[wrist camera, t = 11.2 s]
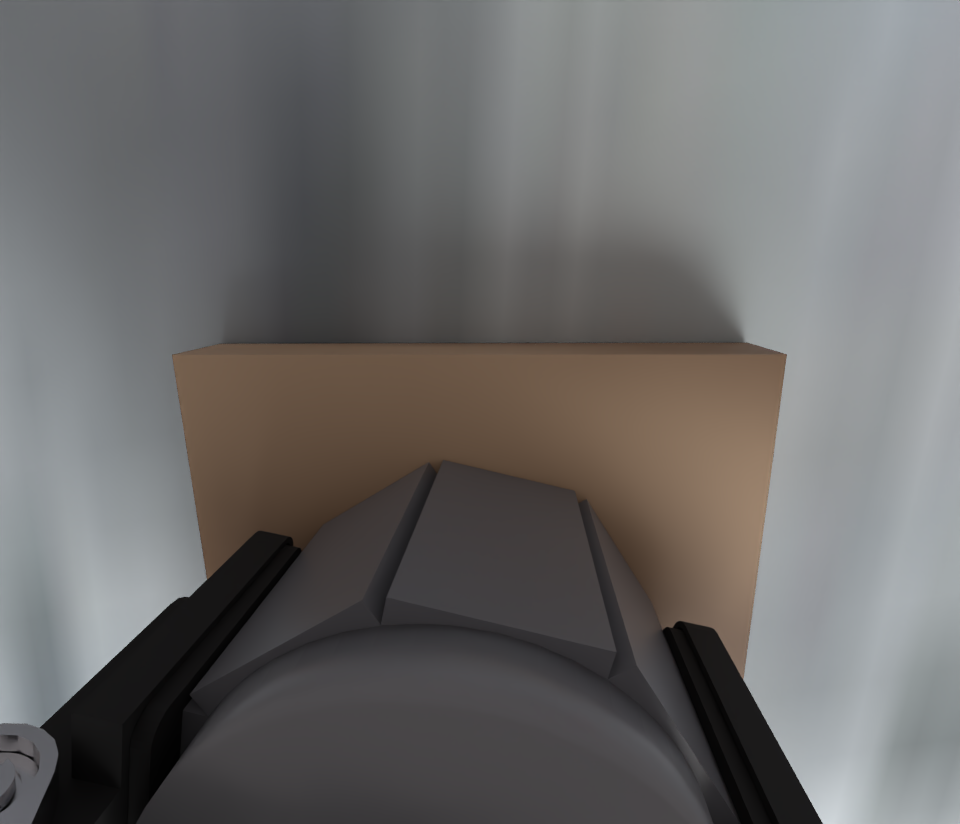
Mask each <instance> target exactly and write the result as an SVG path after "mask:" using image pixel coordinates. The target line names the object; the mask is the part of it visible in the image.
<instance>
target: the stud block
mask: <svg viewBox="0 0 960 824" xmlns="http://www.w3.org/2000/svg"><path fill="white" fill-rule="evenodd" d="M786 356H787V354H783V353H780V352H777V351H773V350H770V349H767V348H763V347H760V346H757V345H753V344H750V343H325V344H217V345H213V346H208V347H204V348H200V349H195V350H191V351H187V352H182V353H178V354H174V355H172V357H173V364H174V370H175V377H176V383H177V389H178V396H179V402H180V409H181V415H182V421H183V428H184V434H185V441H186V447H187V453H188V460H189V466H190V473H191V479H192V485H193V492H194V498H195V505H196V511H197V517H198V524H199V530H200V537H201V543H202V549H203V556H204V562H205V569H206V575H207V579H209V578H210V577H211V576H212V575H213V574H214V573H215V572H216V571H217V570H218V569H219V568H220V567H221V566H222V565H223V564H224V563H225V562H226V561H227V560H228V559H229V558H230V557H231V556H232V555H233V554H234V553H235V552H236V551H237V550H238V549H239V548H240V547H241V546H242V545H243V544H244V543H245V542H246V541H247V540H248V539H249V538H250V537H251V536H253V535H254V534H255V533H256V532H257V531H266V532H270V533H275V534H280V535H284V536H289V537H291V538H292V539H293V546H295V547H299V548H301V550H302V551H303V550H304V548H305V547H306V546H307V545H308V543H309V542H310V541H311V540H312V538H313V537H314V536H315V534H316V533H317V532H318V531H319V529H320V528H321V527H322V526H323V524H325V523H327V522H328V521H330V520H332V519H333V518H335V517H337V516H338V515H340V514H342V513H344V512H345V511H347V510H349V509H350V508H352V507H354V506H355V505H357V504H359V503H360V502H362V501H364V500H366V499H367V498H369V497H371V496H372V495H374V494H376V493H377V492H379V491H381V490H382V489H384V488H386V487H387V486H389V485H391V484H393V483H394V482H396V481H398V480H399V479H401V478H403V477H404V476H406V475H408V474H409V473H411V472H413V471H415V470H416V469H418V468H420V467H421V466H423V465H425V464H426V463H428V462H429V463H430V464H431V466H432V467H433V469H434V470H435V471H436V473H438V471H439V469H440V466H441V464H442V461H443V460H446V461H450V462H454V463H459V464H463V465H467V466H471V467H476V468H480V469H484V470H488V471H493V472H497V473H501V474H505V475H510V476H514V477H518V478H522V479H527V480H531V481H535V482H539V483H544V484H548V485H552V486H556V487H561V488H565V489H569V490H574V491H575V493H576V497H577V501H578V503H580V502H582V501H584V500H586V499H587V500H588V502H589V504H590V505H591V507H592V508H593V510H594V512H595V513H596V515H597V516H598V518H599V520H600V521H601V523H602V524H603V526H604V527H605V529H606V531H607V532H608V534H609V535H610V537H611V539H612V540H613V542H614V543H615V545H616V547H617V548H618V550H619V551H620V553H621V555H622V556H623V558H624V559H625V561H626V563H627V564H628V566H629V567H630V569H631V570H632V572H633V574H634V575H635V577H636V578H637V580H638V582H639V583H640V585H641V586H642V588H643V590H644V591H645V593H646V594H647V596H648V598H649V599H650V601H651V602H652V605H653V607H654V610H655V612H656V615H657V617H658V620H659V622H660V625H661V627H662V630H663V629H664V628H665V627H670V628H673V626H674V625H675V623H676V622H678V621H684V622H688V623H693V624H698V625H702V626H707V627H711V628H713V629H715V631H716V632H717V633H718V635H719V637H720V639H721V641H722V643H723V644H724V646H725V648H726V650H727V652H728V653H729V655H730V657H731V659H732V661H733V662H734V664H735V666H736V668H737V670H738V671H739V673H740V675H741V677H742V679H743V678H744V670H745V663H746V655H747V648H748V640H749V633H750V625H751V618H752V610H753V603H754V595H755V588H756V581H757V573H758V566H759V558H760V551H761V543H762V536H763V528H764V521H765V513H766V506H767V498H768V491H769V483H770V476H771V468H772V461H773V453H774V446H775V438H776V431H777V423H778V416H779V408H780V401H781V393H782V386H783V379H784V371H785V364H786Z"/></svg>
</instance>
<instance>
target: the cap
mask: <svg viewBox="0 0 960 824" xmlns="http://www.w3.org/2000/svg"><path fill="white" fill-rule="evenodd" d="M189 695H190V696H191V697H192V699H191V700H190V702H189V703H188V704H187V706H186V707H185V708H184V710H183V714H182V731H181V747H180V759H179V760H178V761H177V763H176V764H175V766H174V767H173V769H172V770H171V771H170V773H169V774H168V776H167V777H166V778H165V780H164V781H163V783H162V784H161V786H160V787H159V788H158V790H157V791H156V793H155V794H154V796H153V797H152V798H151V800H150V801H149V803H148V804H147V805H146V807H145V809H144V810H143V812H142V814H141V816H140V817H139V819H138V821H137V823H136V824H741V823H740V820H739V818H738V815H737V813H736V810H735V808H734V805H733V803H732V800H731V798H730V795H729V793H728V790H727V788H726V785H725V783H724V780H723V778H722V776H721V773H720V771H719V768H718V766H717V763H716V761H715V758H714V756H713V753H712V751H711V748H710V746H709V743H708V741H707V738H706V736H705V734H704V731H703V729H702V726H701V724H700V721H699V719H698V716H697V714H696V711H695V709H694V706H693V704H692V701H691V699H690V696H689V694H688V691H687V689H686V687H685V684H684V682H683V679H682V677H681V674H680V672H679V669H678V667H677V664H676V662H675V659H674V657H673V654H672V652H671V649H670V647H669V644H668V642H667V640H666V637H665V635H664V632H663V630H662V627H661V625H660V622H659V620H658V617H657V615H656V612H655V610H654V607H653V605H652V602H651V601H650V599H649V598H648V596H647V594H646V593H645V591H644V590H643V588H642V586H641V585H640V583H639V582H638V580H637V578H636V577H635V575H634V574H633V572H632V570H631V569H630V567H629V566H628V564H627V563H626V561H625V559H624V558H623V556H622V555H621V553H620V551H619V550H618V548H617V547H616V545H615V543H614V542H613V540H612V539H611V537H610V535H609V534H608V532H607V531H606V529H605V527H604V526H603V524H602V523H601V521H600V520H599V518H598V516H597V515H596V513H595V512H594V510H593V508H592V507H591V505H590V504H589V502H588V500H587V499H586V500H584V501H582V502H580V503H578V501H577V497H576V493H575V491H574V490H569V489H565V488H561V487H556V486H552V485H548V484H544V483H539V482H535V481H531V480H527V479H522V478H518V477H514V476H510V475H505V474H501V473H497V472H493V471H488V470H484V469H480V468H476V467H471V466H467V465H463V464H459V463H454V462H450V461H446V460H443V461H442V464H441V466H440V469H439V471H438V473H436V471H435V470H434V469H433V467H432V466H431V464H430V463H429V462H428V463H426V464H425V465H423V466H421V467H420V468H418V469H416V470H415V471H413V472H411V473H409V474H408V475H406V476H404V477H403V478H401V479H399V480H398V481H396V482H394V483H393V484H391V485H389V486H387V487H386V488H384V489H382V490H381V491H379V492H377V493H376V494H374V495H372V496H371V497H369V498H367V499H366V500H364V501H362V502H360V503H359V504H357V505H355V506H354V507H352V508H350V509H349V510H347V511H345V512H344V513H342V514H340V515H338V516H337V517H335V518H333V519H332V520H330V521H328V522H327V523H325V524H323V526H322V527H321V528H320V529H319V531H318V532H317V533H316V534H315V536H314V537H313V538H312V540H311V541H310V542H309V543H308V545H307V546H306V547H305V548H304V550H303V551H302V552H301V553H300V555H299V556H298V557H297V559H296V560H295V561H294V562H293V564H292V565H291V566H290V567H289V569H288V570H287V571H286V573H285V574H284V575H283V576H282V578H281V579H280V580H279V581H278V583H277V584H276V585H275V587H274V588H273V589H272V590H271V592H270V593H269V594H268V595H267V597H266V598H265V599H264V600H263V602H262V603H261V604H260V606H259V607H258V608H257V609H256V611H255V612H254V613H253V614H252V616H251V617H250V618H249V620H248V621H247V622H246V623H245V625H244V626H243V627H242V628H241V630H240V631H239V632H238V633H237V635H236V636H235V637H234V639H233V640H232V641H231V642H230V644H229V645H228V646H227V647H226V649H225V650H224V651H223V653H222V654H221V655H220V656H219V658H218V659H217V660H216V661H215V663H214V664H213V665H212V667H211V668H210V669H209V670H208V672H207V673H206V674H205V675H204V677H203V678H202V679H201V680H200V682H199V683H198V684H197V686H196V687H195V688H194V689H193V691H192V692H191V693H190V694H189Z"/></svg>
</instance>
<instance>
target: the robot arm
mask: <svg viewBox="0 0 960 824" xmlns="http://www.w3.org/2000/svg"><path fill="white" fill-rule="evenodd" d="M301 552H302V550H301V548H299V547H295V546H293V539H292V538H291V537H289V536H284V535H280V534H275V533H270V532H266V531H257V532H256V533H255V534H254V535H253V536H251V537H250V538H249V539H248V540H247V541H246V542H245V543H244V544H243V545H242V546H241V547H240V548H239V549H238V550H237V551H236V552H235V553H234V554H233V555H232V556H231V557H230V558H229V559H228V560H227V561H226V562H225V563H224V564H223V565H222V566H221V567H220V568H219V569H218V570H217V571H216V572H215V573H214V574H213V575H212V576H211V577H210V578H209V579H207V580H206V581H205V582H204V583H203V584H202V585H201V586H200V587H199V588H198V589H197V590H196V591H195V592H194V593H193V594H192V595H191V596H190V597H182V598H178V599H177V600H176V601H174V602H173V603H172V604H170V605H169V606H168V607H167V608H166V609H165V610H164V611H163V612H162V613H161V614H160V615H159V616H158V617H157V618H155V619H154V620H153V621H152V622H151V623H150V624H149V625H148V626H147V627H146V628H145V629H144V630H143V631H142V632H141V633H140V634H139V635H137V636H136V637H135V638H134V639H133V640H132V641H131V642H130V643H129V644H128V645H127V646H126V647H125V648H124V649H123V650H122V651H121V652H119V653H118V654H117V655H116V656H115V657H114V658H113V659H112V660H111V661H110V662H109V663H108V664H107V665H106V666H105V667H104V668H103V669H101V670H100V671H99V672H98V673H97V674H96V675H95V676H94V677H93V678H92V679H91V680H90V681H89V682H88V683H87V684H86V685H85V686H83V687H82V688H81V689H80V690H79V691H78V692H77V693H76V694H75V695H74V696H73V697H72V698H71V699H70V700H69V701H68V702H67V703H65V704H64V705H63V706H62V707H61V708H60V709H59V710H58V711H57V712H56V713H55V714H54V715H53V716H52V717H51V718H50V719H49V720H47V721H46V722H45V723H44V724H43V725H42V726H41V727H40V728H38V727H35V726H32V725H28V724H10V723H2V724H0V824H136V823H137V821H138V819H139V817H140V816H141V814H142V812H143V810H144V809H145V807H146V805H147V804H148V803H149V801H150V800H151V798H152V797H153V796H154V794H155V793H156V791H157V790H158V788H159V787H160V786H161V784H162V783H163V781H164V780H165V778H166V777H167V776H168V774H169V773H170V771H171V770H172V769H173V767H174V766H175V764H176V763H177V761H178V760H179V759H180V747H181V731H182V714H183V710H184V708H185V707H186V706H187V704H188V703H189V702H190V700H191V699H192V697H191V696H190V695H189V694H190V693H191V692H192V691H193V689H194V688H195V687H196V686H197V684H198V683H199V682H200V680H201V679H202V678H203V677H204V675H205V674H206V673H207V672H208V670H209V669H210V668H211V667H212V665H213V664H214V663H215V661H216V660H217V659H218V658H219V656H220V655H221V654H222V653H223V651H224V650H225V649H226V647H227V646H228V645H229V644H230V642H231V641H232V640H233V639H234V637H235V636H236V635H237V633H238V632H239V631H240V630H241V628H242V627H243V626H244V625H245V623H246V622H247V621H248V620H249V618H250V617H251V616H252V614H253V613H254V612H255V611H256V609H257V608H258V607H259V606H260V604H261V603H262V602H263V600H264V599H265V598H266V597H267V595H268V594H269V593H270V592H271V590H272V589H273V588H274V587H275V585H276V584H277V583H278V581H279V580H280V579H281V578H282V576H283V575H284V574H285V573H286V571H287V570H288V569H289V567H290V566H291V565H292V564H293V562H294V561H295V560H296V559H297V557H298V556H299V555H300V553H301ZM663 632H664V635H665V637H666V640H667V642H668V644H669V647H670V649H671V652H672V654H673V657H674V659H675V662H676V664H677V667H678V669H679V672H680V674H681V677H682V679H683V682H684V684H685V687H686V689H687V691H688V694H689V696H690V699H691V701H692V704H693V706H694V709H695V711H696V714H697V716H698V719H699V721H700V724H701V726H702V729H703V731H704V734H705V736H706V738H707V741H708V743H709V746H710V748H711V751H712V753H713V756H714V758H715V761H716V763H717V766H718V768H719V771H720V773H721V776H722V778H723V780H724V783H725V785H726V788H727V790H728V793H729V795H730V798H731V800H732V803H733V805H734V808H735V810H736V813H737V815H738V818H739V820H740V823H741V824H823V823H822V822H821V820H820V818H819V816H818V814H817V813H816V811H815V809H814V807H813V805H812V804H811V802H810V800H809V798H808V796H807V794H806V793H805V791H804V789H803V787H802V785H801V784H800V782H799V780H798V778H797V776H796V775H795V773H794V771H793V769H792V767H791V766H790V764H789V762H788V760H787V758H786V756H785V755H784V753H783V751H782V749H781V747H780V746H779V744H778V742H777V740H776V738H775V737H774V735H773V733H772V731H771V729H770V728H769V726H768V724H767V722H766V720H765V718H764V717H763V715H762V713H761V711H760V709H759V708H758V706H757V704H756V702H755V700H754V699H753V697H752V695H751V693H750V691H749V690H748V688H747V686H746V684H745V682H744V681H743V679H742V677H741V675H740V673H739V671H738V670H737V668H736V666H735V664H734V662H733V661H732V659H731V657H730V655H729V653H728V652H727V650H726V648H725V646H724V644H723V643H722V641H721V639H720V637H719V635H718V633H717V632H716V631H715V629H713V628H711V627H707V626H702V625H698V624H693V623H688V622H684V621H678V622H676V623H675V625H674V626H673V628H670V627H665V628H664V629H663Z"/></svg>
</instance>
